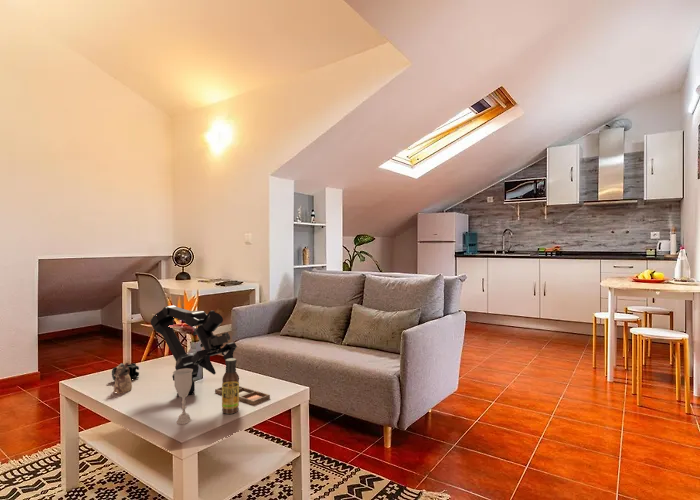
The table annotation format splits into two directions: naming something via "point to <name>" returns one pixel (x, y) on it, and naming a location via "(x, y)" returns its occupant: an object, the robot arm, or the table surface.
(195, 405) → the table surface
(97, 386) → the table surface
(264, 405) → the table surface
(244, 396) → the brown compartment tray
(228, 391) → the sauce bottle
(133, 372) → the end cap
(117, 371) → the figurine
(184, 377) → the chalice
